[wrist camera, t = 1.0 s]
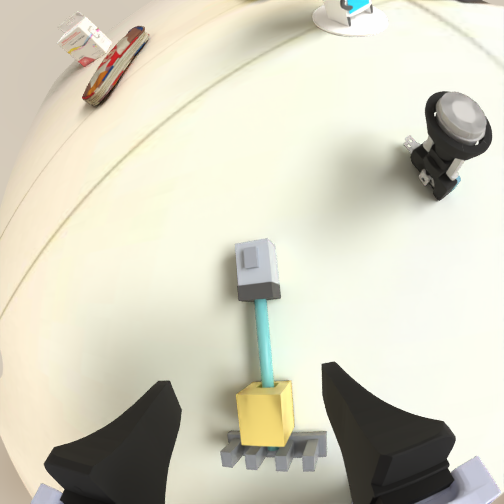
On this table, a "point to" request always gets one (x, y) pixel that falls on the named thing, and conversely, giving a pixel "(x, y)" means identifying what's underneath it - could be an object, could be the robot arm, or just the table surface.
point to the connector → (256, 262)
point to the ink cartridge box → (83, 39)
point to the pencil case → (114, 65)
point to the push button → (449, 140)
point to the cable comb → (277, 451)
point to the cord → (264, 347)
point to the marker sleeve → (265, 414)
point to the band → (259, 291)
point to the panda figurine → (350, 18)
